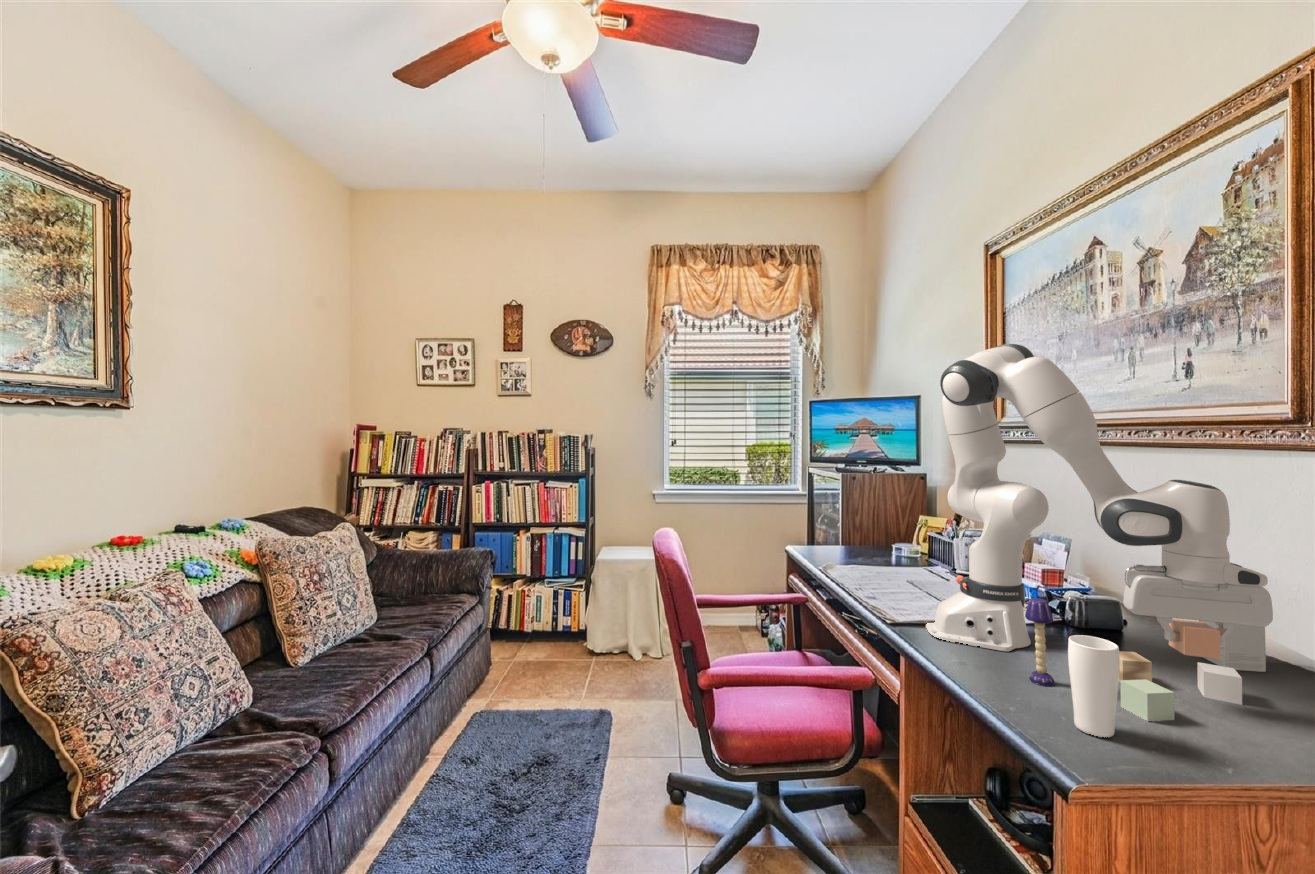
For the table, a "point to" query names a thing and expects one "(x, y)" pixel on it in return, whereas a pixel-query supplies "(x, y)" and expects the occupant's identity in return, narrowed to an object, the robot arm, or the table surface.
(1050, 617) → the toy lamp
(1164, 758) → the table surface
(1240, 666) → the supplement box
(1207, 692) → the grey block
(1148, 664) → the oak block
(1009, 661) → the table surface
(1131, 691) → the sage block
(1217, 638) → the terracotta block
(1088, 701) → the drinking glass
